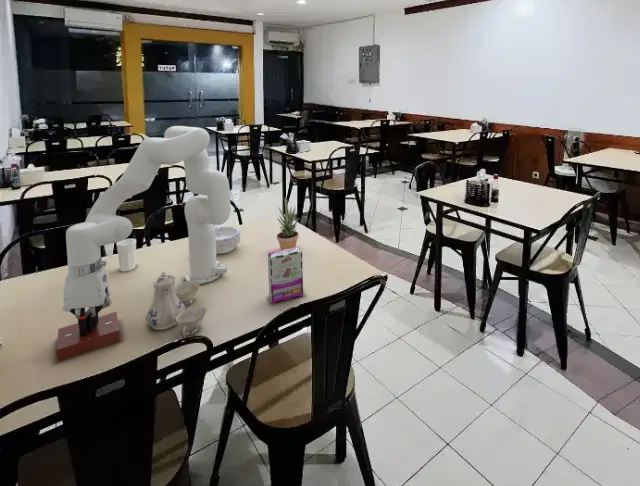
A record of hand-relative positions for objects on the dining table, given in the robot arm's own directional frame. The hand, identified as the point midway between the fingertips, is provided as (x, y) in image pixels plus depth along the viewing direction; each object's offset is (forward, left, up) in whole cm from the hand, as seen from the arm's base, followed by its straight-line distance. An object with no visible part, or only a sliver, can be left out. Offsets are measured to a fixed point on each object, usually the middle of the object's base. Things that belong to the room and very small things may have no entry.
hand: (88, 327), depth 111 cm
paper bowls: (-22, -59, -4) cm, 63 cm away
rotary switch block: (0, 0, -4) cm, 4 cm away
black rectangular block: (0, 0, 0) cm, 0 cm away
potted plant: (-51, -55, -4) cm, 75 cm away
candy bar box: (-54, -17, -4) cm, 57 cm away
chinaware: (-21, -8, -4) cm, 23 cm away
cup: (+11, -45, -4) cm, 46 cm away
